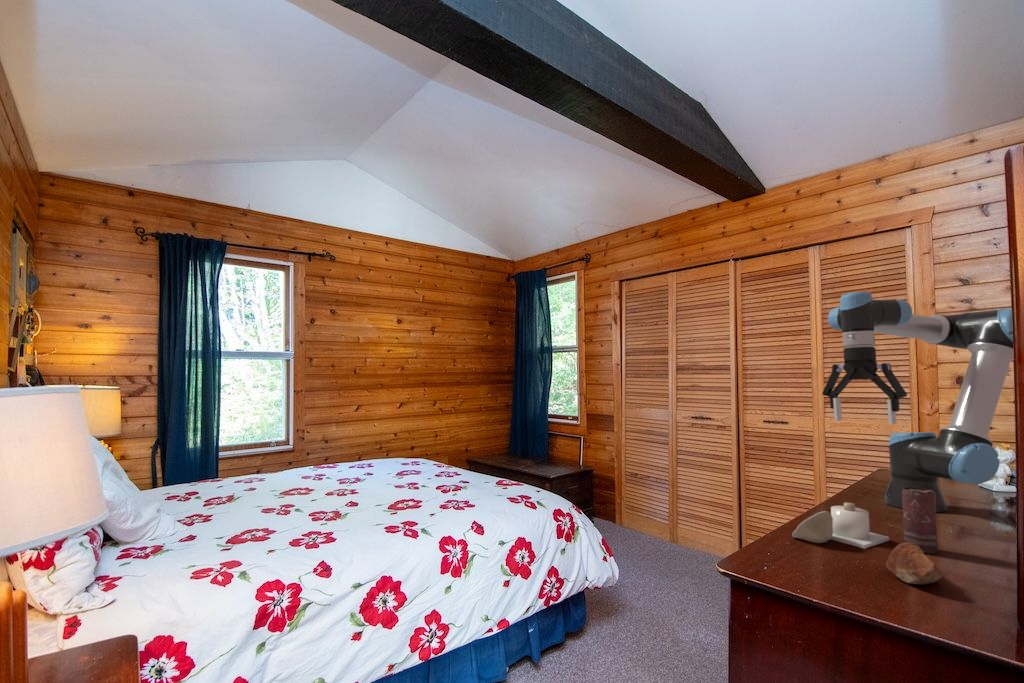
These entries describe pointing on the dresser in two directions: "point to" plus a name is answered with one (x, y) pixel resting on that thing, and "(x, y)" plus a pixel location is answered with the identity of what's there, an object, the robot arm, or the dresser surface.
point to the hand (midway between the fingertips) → (864, 422)
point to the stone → (815, 528)
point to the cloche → (850, 521)
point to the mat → (862, 540)
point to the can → (920, 518)
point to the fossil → (912, 565)
